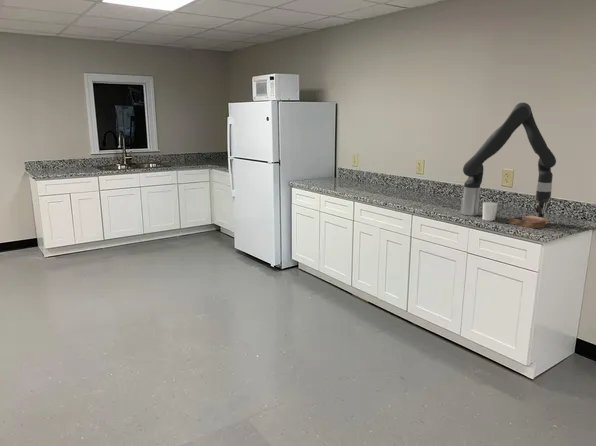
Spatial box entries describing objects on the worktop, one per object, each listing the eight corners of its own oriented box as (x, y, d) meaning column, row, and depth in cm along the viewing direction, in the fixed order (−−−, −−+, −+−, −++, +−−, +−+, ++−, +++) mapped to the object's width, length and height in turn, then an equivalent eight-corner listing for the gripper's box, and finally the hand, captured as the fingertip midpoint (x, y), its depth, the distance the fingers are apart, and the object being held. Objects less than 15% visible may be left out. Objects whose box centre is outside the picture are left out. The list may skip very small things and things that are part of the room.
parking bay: (509, 223, 264) (509, 218, 263) (520, 221, 269) (520, 216, 268) (533, 228, 251) (534, 223, 251) (545, 226, 257) (545, 221, 256)
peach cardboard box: (523, 222, 266) (523, 216, 265) (530, 221, 270) (531, 215, 269) (539, 226, 258) (540, 219, 257) (547, 224, 262) (547, 218, 261)
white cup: (492, 218, 277) (493, 201, 275) (498, 221, 270) (499, 204, 268) (479, 218, 277) (480, 201, 275) (484, 221, 269) (486, 204, 267)
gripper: (544, 188, 269) (540, 217, 273) (530, 190, 262) (527, 220, 266) (557, 189, 263) (553, 219, 267) (543, 192, 256) (540, 222, 260)
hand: (540, 219), depth 266 cm, fingers closed
